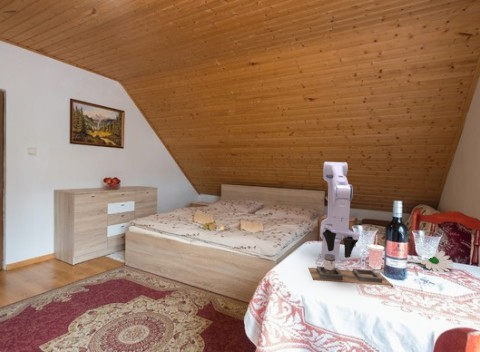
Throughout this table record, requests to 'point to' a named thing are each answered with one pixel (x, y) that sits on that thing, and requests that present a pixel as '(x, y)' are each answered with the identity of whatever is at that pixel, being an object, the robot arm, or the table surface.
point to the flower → (437, 262)
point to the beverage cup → (375, 255)
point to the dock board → (350, 276)
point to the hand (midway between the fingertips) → (338, 253)
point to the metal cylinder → (329, 264)
